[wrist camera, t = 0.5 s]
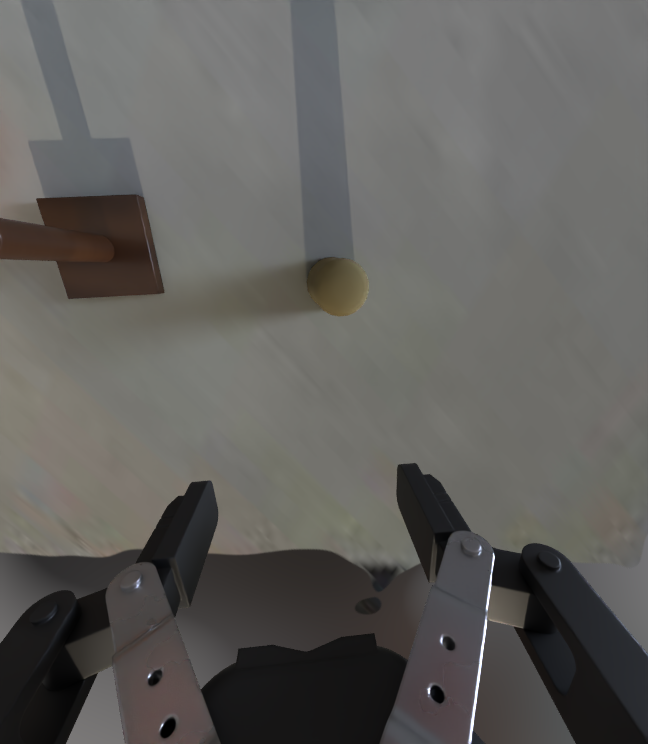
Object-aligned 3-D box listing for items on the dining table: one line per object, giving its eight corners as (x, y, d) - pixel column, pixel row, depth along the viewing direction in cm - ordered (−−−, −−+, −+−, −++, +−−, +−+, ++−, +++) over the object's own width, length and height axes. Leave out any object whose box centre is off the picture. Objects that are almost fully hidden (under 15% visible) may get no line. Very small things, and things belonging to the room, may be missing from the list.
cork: (296, 287, 36) (294, 294, 26) (328, 245, 35) (339, 236, 25) (334, 318, 38) (346, 336, 28) (366, 279, 37) (391, 284, 26)
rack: (47, 201, 32) (-144, 150, 18) (143, 197, 32) (27, 145, 19) (77, 297, 35) (-66, 315, 22) (164, 292, 36) (78, 307, 22)
